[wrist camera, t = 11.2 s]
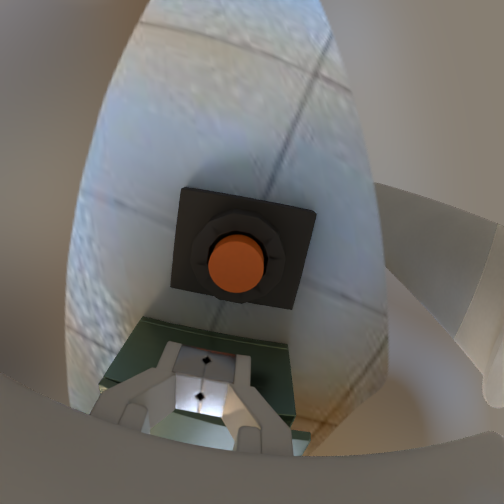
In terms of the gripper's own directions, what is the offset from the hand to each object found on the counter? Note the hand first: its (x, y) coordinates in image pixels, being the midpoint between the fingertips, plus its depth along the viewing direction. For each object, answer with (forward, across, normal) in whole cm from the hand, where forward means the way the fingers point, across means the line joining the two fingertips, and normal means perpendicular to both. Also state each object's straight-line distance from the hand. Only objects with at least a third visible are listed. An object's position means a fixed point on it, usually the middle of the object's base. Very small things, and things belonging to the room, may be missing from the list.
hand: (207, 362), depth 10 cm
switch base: (+14, 0, 0) cm, 14 cm away
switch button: (+11, 0, 0) cm, 11 cm away
